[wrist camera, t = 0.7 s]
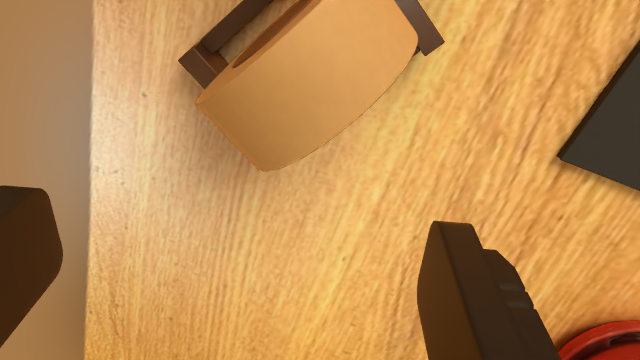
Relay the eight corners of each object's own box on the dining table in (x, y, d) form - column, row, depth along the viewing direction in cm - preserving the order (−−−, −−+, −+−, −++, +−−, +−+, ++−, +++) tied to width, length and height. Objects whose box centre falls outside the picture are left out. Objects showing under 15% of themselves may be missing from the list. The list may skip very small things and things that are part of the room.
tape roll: (222, 64, 27) (163, 134, 18) (358, -55, 24) (365, -37, 15) (271, 119, 29) (239, 207, 20) (406, 15, 25) (437, 67, 17)
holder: (190, 49, 27) (177, 60, 24) (349, -98, 23) (350, -100, 21) (281, 147, 30) (276, 165, 27) (436, 32, 26) (445, 42, 23)
